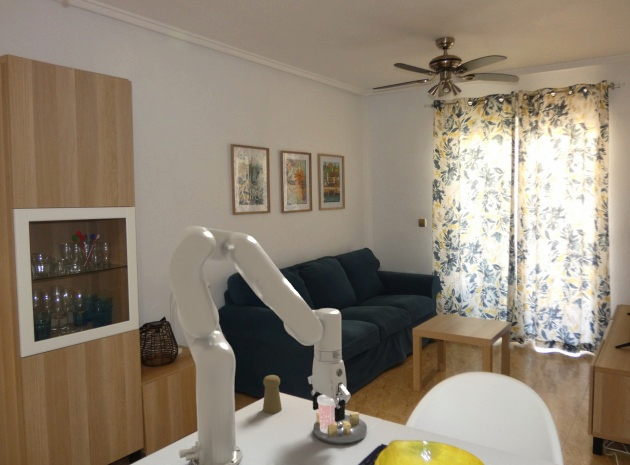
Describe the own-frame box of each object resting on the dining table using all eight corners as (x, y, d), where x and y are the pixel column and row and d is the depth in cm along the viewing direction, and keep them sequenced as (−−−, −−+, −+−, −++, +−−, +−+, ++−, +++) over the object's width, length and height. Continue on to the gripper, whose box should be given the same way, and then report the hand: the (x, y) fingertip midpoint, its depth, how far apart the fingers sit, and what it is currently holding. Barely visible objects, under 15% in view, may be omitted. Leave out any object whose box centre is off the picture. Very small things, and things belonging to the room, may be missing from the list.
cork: (270, 416, 155) (269, 381, 154) (258, 410, 159) (258, 376, 159) (285, 410, 159) (285, 376, 158) (273, 404, 164) (273, 371, 163)
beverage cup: (336, 423, 146) (335, 376, 145) (341, 433, 140) (341, 384, 139) (315, 425, 145) (314, 377, 143) (319, 435, 139) (319, 385, 137)
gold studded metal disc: (352, 416, 154) (352, 401, 153) (376, 438, 140) (376, 422, 140) (306, 425, 148) (305, 410, 148) (326, 449, 134) (326, 432, 134)
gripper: (359, 359, 135) (359, 421, 137) (319, 344, 149) (319, 400, 150) (338, 365, 130) (338, 429, 132) (298, 349, 144) (299, 407, 146)
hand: (328, 414), depth 141 cm, fingers open, 9 cm apart
